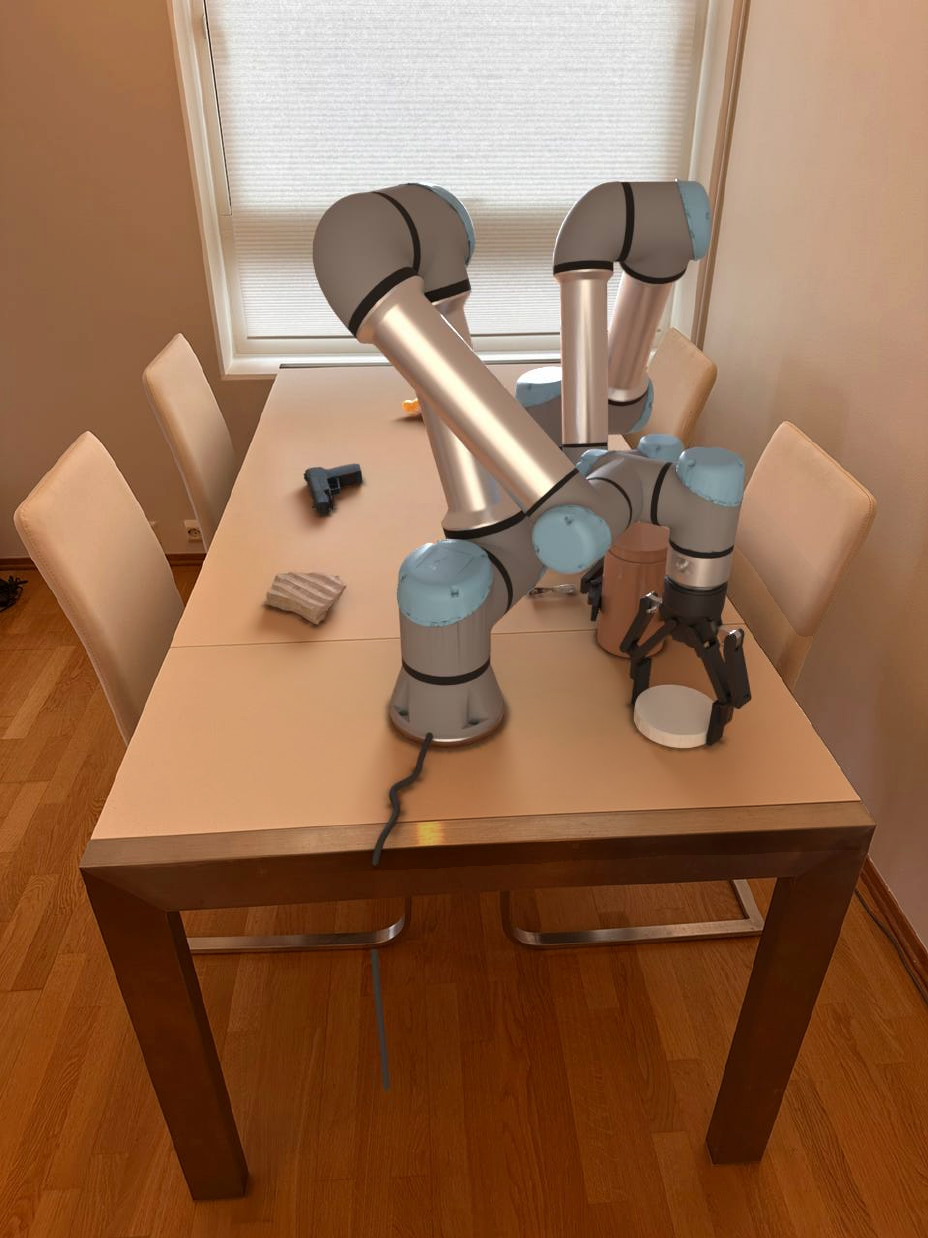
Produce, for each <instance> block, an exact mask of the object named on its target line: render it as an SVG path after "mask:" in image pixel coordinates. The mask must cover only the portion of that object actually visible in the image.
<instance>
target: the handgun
mask: <svg viewBox="0 0 928 1238" xmlns="http://www.w3.org/2000/svg"><path fill="white" fill-rule="evenodd" d="M303 480H304V481H305V482H306V483H307V487H308V490H309V494H310V496H311V499H312V502H313V505H311V508H312V509H313V510H314V509H315V512H316V513H317V514H318V515H328V514H329V513H330V509H331V510H332V511H334V510H335V509H334V507H335V506H334V499H333V496H338V495H340V494H341V489H342V488H347V487H351V486H355V485H359V484H361V485H362V484H363V472H362V468H361V465H360V463H350V464H344V465H340V466H336V467H335V466H334V467H331V468H324V467H322V466H315V467H314V466H313V467H308V468H307V469H305V471H304V473H303Z"/></svg>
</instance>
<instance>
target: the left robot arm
mask: <svg viewBox="0 0 928 1238" xmlns="http://www.w3.org/2000/svg"><path fill="white" fill-rule="evenodd" d="M475 248H476V233H475V228H474V223H473V220H472V217H471V216H470V214H469V211H468V210H467V208H466V206H465V205H464V204H463V203H462V201H461V200H460V199H459V198H458V197H457V196H456V195H455V194H454V193H452V192H450V191H449V190H448V189H447V188H446V187H443V186H441V185H438V184H435V183H431V182H412V181H409V182H407V183H400V184H398V185H394V186H389V187H385V188H380V189H375V190H371V191H363V192H362V191H360V192H355V193H351V194H348V195H345V196H344V197H341V198H339V199H338V200H337V201H335V202H334V203H333V204H332V205H330V207H329V208H328V209H326V211H325V212H324V213H323V215H322V217H321V218H320V219H319V222H318V223H317V226H316V229H315V232H314V236H313V240H312V264H313V270H314V274H315V277H316V280H317V283H318V285H319V288H320V290H321V292H322V294H323V296H324V298H325V299H326V301H327V303H328V305H329V307H330V308H331V310H332V311H333V313H334V314H335V315H336V317H337V318H338V319H339V321H340V322H341V323H342V324H343V325H344V327H345V328H346V329H347V330H348V331H349V332H350V333H351V334H352V336H353V337H354V338H355V339H356V340H357V341H358V343H360V344H364V345H373V346H375V348H376V349H377V350H378V351H379V352H380V353H381V354H382V356H384V358H385V359H386V360H387V361H388V363H390V364H391V366H393V368H394V369H395V370H396V371H397V372H398V373H399V375H401V377H402V378H403V379H404V380H405V381H406V382H407V383H408V384H409V386H410V387H411V388H412V389H413V390H414V392H415V396H416V398H417V400H418V403H419V407H420V408H419V410H420V414H421V416H422V420H423V424H424V428H425V431H426V434H427V438H428V441H429V445H430V448H431V453H432V456H433V459H434V463H435V466H436V469H437V472H438V473H437V474H438V476H439V480H440V484H441V487H442V491H443V493H444V497H445V500H446V504H447V507H448V508H447V511H446V512H445V514H444V516H443V517H442V519H441V522H440V523H441V528H442V530H443V534H444V537H445V539H439V540H437V542H436V543H432V542H428V543H425V544H423V545H421V546H419V547H416V548H415V549H413V551H411V552H410V553H408V555H407V556H406V557H405V558H404V559H403V561H402V563H401V564H400V567H399V570H398V577H397V587H396V601H397V606H398V616H399V617H398V618H399V633H400V634H399V637H400V639H399V640H400V655H401V667H400V669H399V672H398V675H397V678H396V681H395V684H394V687H393V690H392V693H391V696H390V704H389V705H390V718H391V721H392V724H393V725H394V727H395V728H396V729H397V731H398V732H399V733H400V734H402V735H403V736H404V737H406V738H407V739H409V740H411V741H413V742H415V743H417V744H420V745H421V744H422V746H421V747H420V750H419V754H418V756H417V761H416V764H415V768H414V770H413V772H412V773H411V774H410V775H409V776H408V777H406V778H404V779H402V780H400V781H397V782H396V783H394V784H393V785H392V786H391V787H390V789H389V792H388V797H389V800H390V803H391V805H392V812H391V816H390V818H389V820H388V821H387V823H386V825H385V826H384V827H383V829H382V831H381V832H380V834H379V836H378V838H377V840H376V843H375V846H374V849H373V853H372V857H371V865H372V866H377V865H378V864H379V863H380V859H381V854H382V851H383V848H384V845H385V842H386V840H387V839H388V836H389V835H390V833H392V832H391V831H392V830H393V828H394V827H395V826H396V824H397V822H398V820H399V817H400V812H401V807H400V806H401V805H400V802H399V799H398V797H397V792H398V791H399V790H400V789H402V788H404V787H407V786H409V785H410V784H412V783H414V782H415V781H416V780H417V779H418V778H419V776H420V774H421V773H422V771H423V766H424V762H425V759H426V757H427V753H428V750H429V748H430V747H437V748H454V747H455V748H457V747H463V746H467V745H471V744H473V743H476V742H480V741H481V740H483V739H485V738H486V737H488V736H489V735H491V734H492V733H493V732H494V731H495V730H496V729H498V727H499V726H500V724H501V722H502V720H503V717H504V697H503V693H502V690H501V687H500V685H499V682H498V679H497V677H496V674H495V672H494V668H493V666H492V664H491V654H492V653H491V651H492V649H491V648H492V647H491V645H492V630H493V627H494V626H495V625H496V624H497V623H499V621H500V620H501V619H502V618H503V617H504V616H506V615H507V613H508V612H509V611H510V610H512V608H513V607H514V606H516V605H517V603H519V602H520V601H521V599H523V597H525V596H527V595H529V592H531V591H532V590H533V589H534V588H535V587H537V585H538V584H539V582H540V581H541V580H542V579H543V576H544V575H546V572H547V570H548V569H549V570H552V571H554V572H556V573H559V574H562V575H575V574H579V573H582V572H584V571H586V570H587V569H588V570H589V569H590V568H591V567H592V566H593V565H595V564H596V563H597V562H598V561H599V560H600V559H601V558H602V557H603V556H604V555H605V554H606V553H607V551H608V549H609V548H610V547H611V546H612V545H613V544H614V542H615V541H616V540H617V539H618V538H619V537H620V536H621V535H622V534H623V533H624V532H625V531H626V530H627V529H628V528H629V527H630V526H631V525H632V524H633V522H634V521H639V522H643V523H648V524H652V525H657V526H665V527H669V528H670V535H669V544H668V552H667V561H666V569H665V570H666V574H665V576H664V583H663V591H662V599H660V598H659V597H658V594H657V592H655V591H653V592H651V593H649V594H647V595H646V596H644V597H642V598H641V599H640V602H639V611H638V613H637V615H636V617H635V619H634V621H633V622H632V624H631V626H630V628H629V630H628V632H627V633H626V635H625V637H624V639H623V641H622V642H621V644H620V646H619V649H620V651H621V652H622V653H627V654H628V655H629V656H630V658H629V660H630V667H629V669H630V670H629V678H630V680H632V681H633V684H632V692H631V693H632V694H631V702H630V704H631V705H632V706H635V702H636V700H637V698H638V696H639V695H640V694H641V693H642V692H643V691H645V690H647V689H649V688H650V681H651V672H652V664H653V658H651V656H648V657H645V656H646V655H647V654H649V653H650V652H651V651H652V650H653V649H654V648H655V647H657V646H658V645H659V644H660V643H661V642H662V641H663V642H664V641H665V640H666V639H667V638H668V637H671V638H672V641H675V642H678V643H683V644H684V645H685V646H686V647H688V648H691V649H693V650H694V652H695V655H696V656H697V658H698V659H700V660H701V662H702V664H703V665H702V666H703V667H704V670H705V672H706V675H707V677H708V680H709V682H710V684H711V687H712V689H713V691H714V694H715V697H716V700H714V701H713V704H712V710H711V716H710V721H709V727H708V733H707V739H706V743H705V745H707V746H709V747H712V746H713V745H714V744H716V743H717V742H718V741H719V740H721V739H722V738H723V735H724V732H725V731H724V730H725V727H726V725H728V724H729V723H730V722H731V721H732V720H733V715H734V710H735V709H736V710H740V709H742V708H743V707H744V706H745V705H747V704H748V703H749V702H751V700H752V699H753V697H752V691H751V686H750V685H751V684H750V680H749V674H748V669H747V663H746V658H745V651H744V639H745V635H746V633H745V632H746V631H744V629H743V628H741V627H737V628H736V629H732V628H730V627H727V626H725V625H724V623H723V620H722V619H723V618H722V614H723V611H724V608H725V605H726V604H725V603H726V597H727V591H728V587H729V584H728V583H729V582H728V580H729V579H730V574H731V568H732V563H733V553H734V548H735V541H736V535H737V530H738V524H739V519H740V515H741V514H740V513H741V508H742V503H743V501H744V496H745V494H744V486H745V476H746V464H745V461H744V460H743V458H742V457H741V456H740V455H739V454H737V453H736V452H734V451H733V450H730V449H726V448H723V447H718V446H709V447H706V446H694V447H690V448H688V449H684V452H683V453H682V454H681V455H680V457H679V461H678V462H674V463H672V462H666V461H661V460H656V459H651V458H646V457H641V456H636V455H631V454H626V453H622V452H621V451H616V449H608V450H600V449H591V450H588V451H586V452H585V453H584V454H583V455H582V456H581V457H580V460H579V463H577V464H576V467H575V466H574V465H573V463H572V462H571V461H570V460H569V459H568V458H567V457H566V455H565V454H564V453H563V452H562V451H561V450H560V449H559V448H558V446H557V445H556V444H555V443H554V442H553V441H552V440H551V438H550V437H549V436H548V435H547V434H546V433H545V432H544V430H543V429H542V428H541V427H540V426H539V425H538V424H537V423H536V421H535V420H534V419H533V418H532V417H531V416H530V415H529V413H528V412H527V411H526V410H525V409H524V408H523V407H522V406H521V404H520V403H519V402H518V401H517V400H516V399H515V398H514V397H515V395H513V394H512V393H511V391H509V390H508V388H507V387H506V386H505V385H504V383H502V382H501V380H500V379H499V378H498V377H497V376H496V375H495V374H494V373H493V371H492V370H491V369H490V368H489V367H488V366H487V365H486V363H485V362H484V361H483V360H482V359H481V358H480V357H479V356H478V354H477V353H476V352H475V347H474V344H473V340H472V339H473V338H472V336H471V332H470V328H469V325H468V324H469V323H468V320H467V317H466V313H465V306H466V304H467V302H468V300H469V298H470V296H471V295H472V292H473V291H472V285H471V281H470V278H469V274H468V270H467V268H468V267H469V266H470V264H471V260H472V257H473V255H474V253H475ZM658 610H659V612H660V614H661V616H662V619H663V621H664V623H665V624H664V625H663V626H662V627H661V628H659V629H658V630H657V631H656V632H655V633H654V634H653V635H652V636H651V637H650V638H649V639H648V640H647V641H645V642H644V643H643V644H642V645H641V646H639V645H637V644H638V642H639V640H640V639H641V637H642V635H643V633H644V632H645V630H646V628H647V626H648V625H649V623H650V621H651V619H652V618H653V616H654V614H655V612H657V611H658ZM719 638H720V640H719ZM707 643H708V644H707ZM705 644H707V645H706V646H705ZM721 647H722V652H721V650H720V649H721ZM722 653H723V655H722ZM370 957H371V958H370V960H371V973H372V974H371V975H372V985H373V986H372V987H373V997H374V1005H375V1006H374V1007H375V1014H376V1025H377V1034H378V1044H379V1052H380V1063H381V1073H382V1086H383V1088H382V1089H383V1090H384V1091H389V1090H390V1088H391V1087H390V1074H389V1059H388V1050H387V1040H386V1031H385V1022H384V1021H385V1020H384V1012H383V1011H384V1009H383V1000H382V988H381V978H380V977H381V976H380V963H379V960H380V959H379V949H376V948H370Z"/></svg>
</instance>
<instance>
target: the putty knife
mask: <svg viewBox="0 0 928 1238" xmlns="http://www.w3.org/2000/svg"><path fill="white" fill-rule="evenodd" d="M576 590H577V586H576V585H575V584H573V583H566V584H561V585H556V586H553V587H540V586H539V587H537V586H536V587H535V588H534V589H533V590H532V591H531V592H529V593H528V596H535V595H541V594H547V593H551V592H552V593H562V594H563V593H566V594H567V593H568V594H569V593H574V592H576Z"/></svg>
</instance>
